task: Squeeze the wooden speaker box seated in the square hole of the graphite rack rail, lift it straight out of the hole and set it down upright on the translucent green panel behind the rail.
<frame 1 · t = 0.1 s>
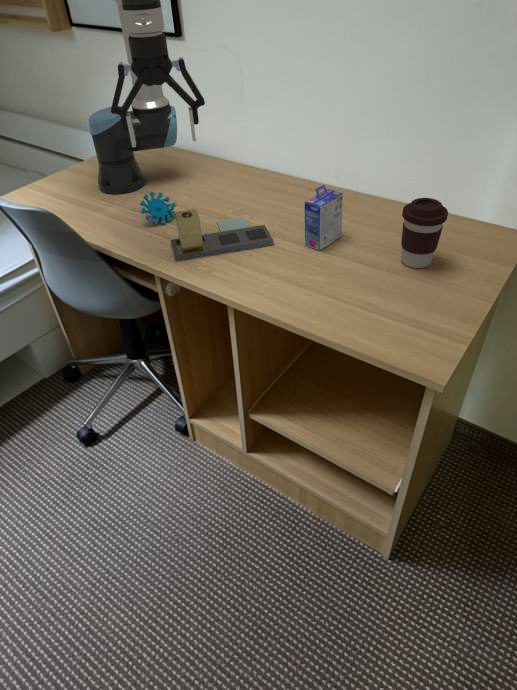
hand: (164, 142, 113), 28 cm above the table, fingers open, 13 cm apart
translucent green panel: (233, 226, 139), on the table
wooden speaker box: (192, 250, 131), resting in rail
ink cartridge box: (322, 241, 131), on the table
blue spiky knobbed toy: (161, 220, 145), on the table
rail: (221, 244, 132), on the table
coffee cup: (415, 261, 122), on the table
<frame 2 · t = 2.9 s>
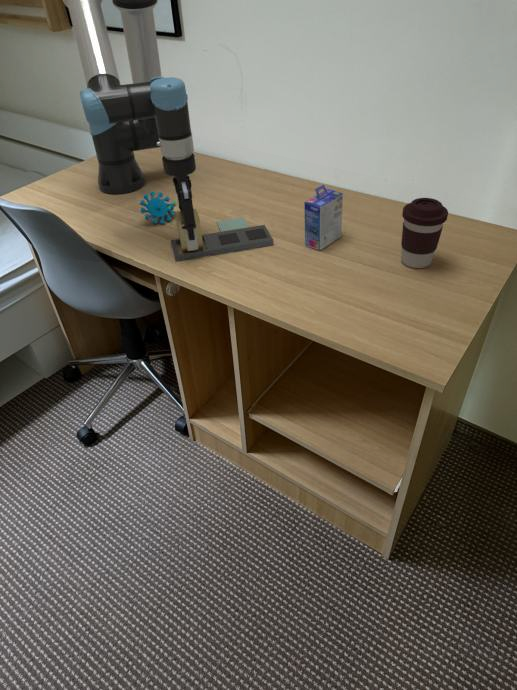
hand: (191, 243, 129), 2 cm above the table, fingers closed on wooden speaker box, 5 cm apart
wooden speaker box: (192, 249, 131), resting in rail, touching gripper
everything else where it was.
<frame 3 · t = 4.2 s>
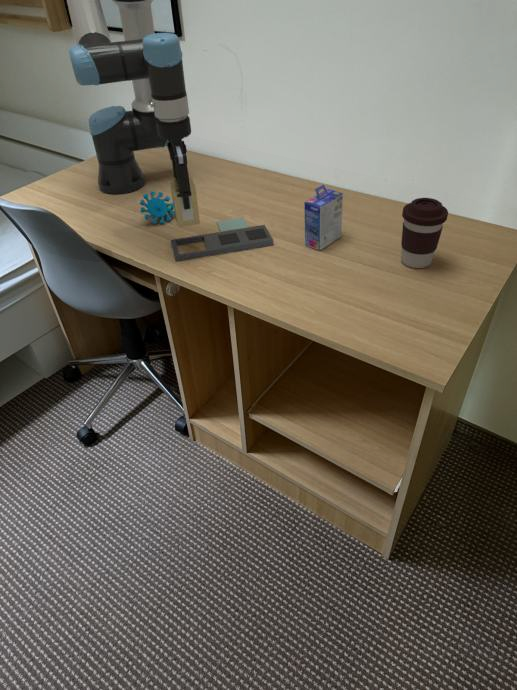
hand: (186, 213, 124), 10 cm above the table, fingers closed on wooden speaker box, 5 cm apart
wooden speaker box: (187, 220, 125), point 8 cm above the table, touching gripper
everything else where it was.
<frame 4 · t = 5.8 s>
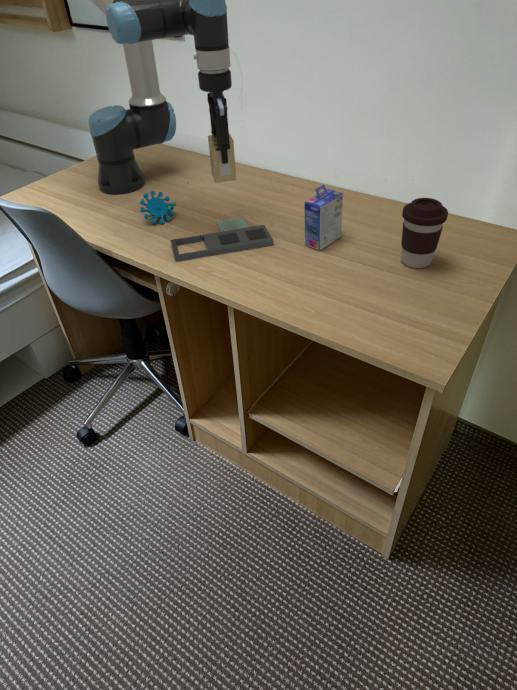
hand: (223, 170, 127), 17 cm above the table, fingers closed on wooden speaker box, 5 cm apart
wooden speaker box: (223, 177, 129), point 15 cm above the table, touching gripper
everything else where it was.
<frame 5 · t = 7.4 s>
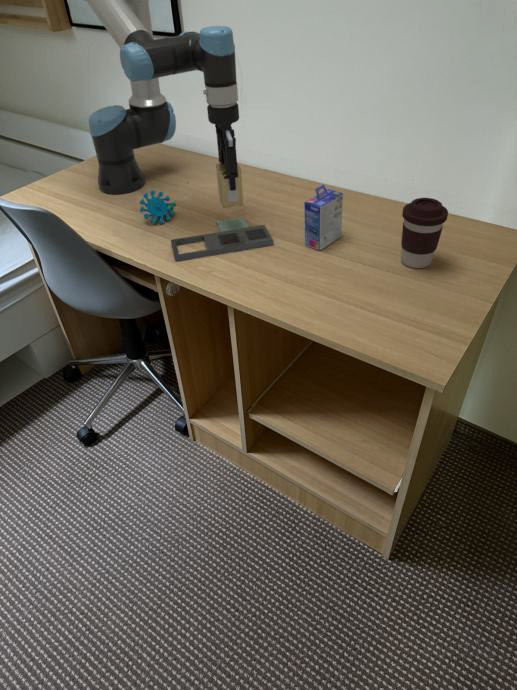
hand: (230, 196, 133), 9 cm above the table, fingers closed on wooden speaker box, 5 cm apart
wooden speaker box: (231, 202, 134), point 7 cm above the table, touching gripper
everything else where it was.
when the fingers open (4 cm above the table, at t = 8.7 s): wooden speaker box drops 2 cm, resting on translucent green panel.
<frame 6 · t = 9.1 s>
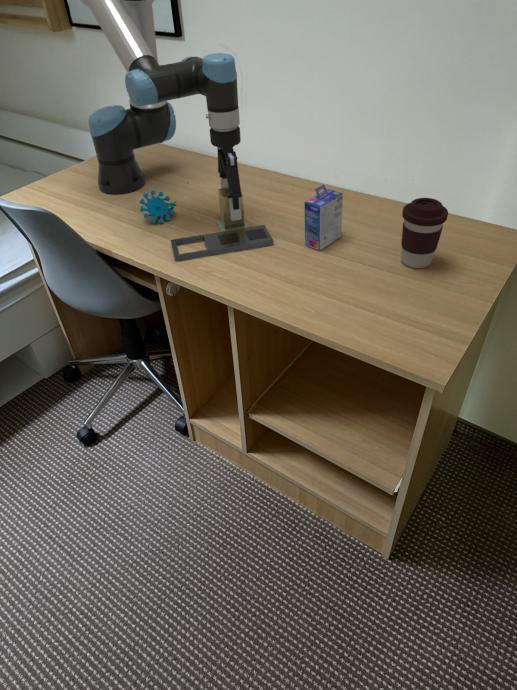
hand: (231, 210, 136), 5 cm above the table, fingers open, 11 cm apart
wooden speaker box: (233, 225, 139), resting on translucent green panel
everything else where it was.
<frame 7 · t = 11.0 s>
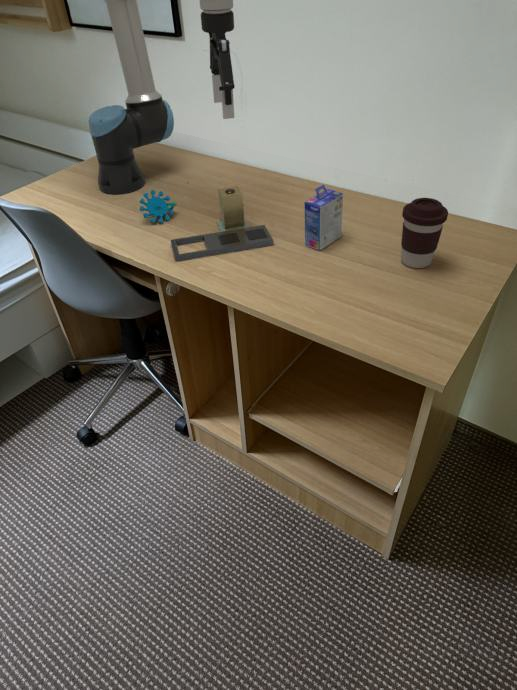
hand: (223, 109, 126), 29 cm above the table, fingers open, 13 cm apart
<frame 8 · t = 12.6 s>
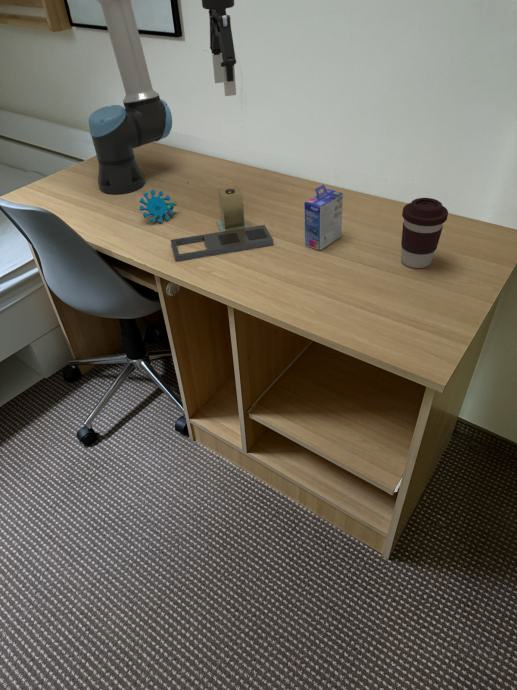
hand: (225, 88, 127), 33 cm above the table, fingers open, 13 cm apart
at the end: wooden speaker box inside the target area on the translucent green panel (0.0 cm from its centre), point 0.4 cm above the translucent green panel's base; wooden speaker box tilted 0°; wooden speaker box touching translucent green panel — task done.
